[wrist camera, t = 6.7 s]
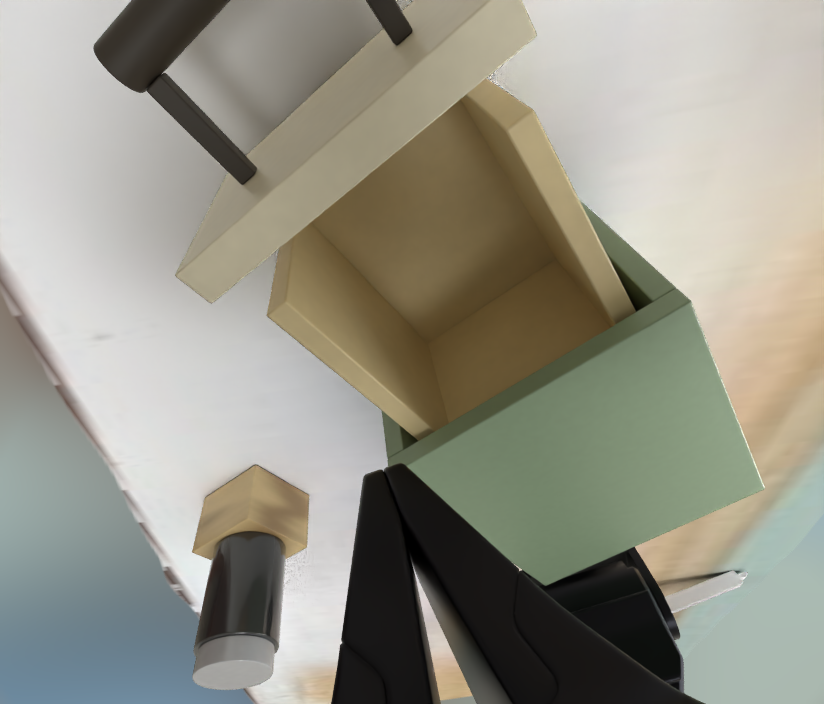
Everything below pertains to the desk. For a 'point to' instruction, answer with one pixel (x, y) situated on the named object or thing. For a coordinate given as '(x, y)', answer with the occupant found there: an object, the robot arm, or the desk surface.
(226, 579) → the pepper shaker
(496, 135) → the drawer
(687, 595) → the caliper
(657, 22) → the desk surface
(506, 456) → the cabinet
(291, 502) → the maple block
